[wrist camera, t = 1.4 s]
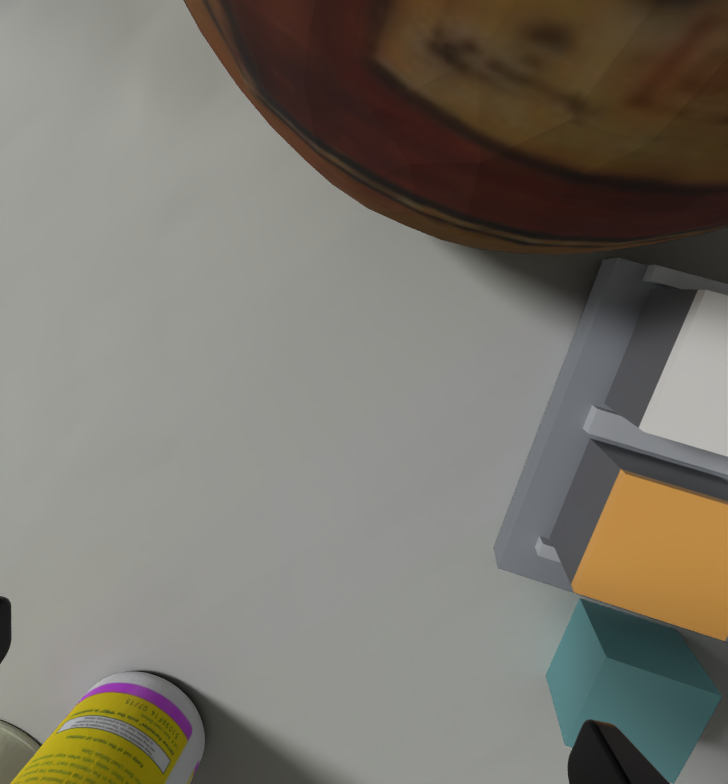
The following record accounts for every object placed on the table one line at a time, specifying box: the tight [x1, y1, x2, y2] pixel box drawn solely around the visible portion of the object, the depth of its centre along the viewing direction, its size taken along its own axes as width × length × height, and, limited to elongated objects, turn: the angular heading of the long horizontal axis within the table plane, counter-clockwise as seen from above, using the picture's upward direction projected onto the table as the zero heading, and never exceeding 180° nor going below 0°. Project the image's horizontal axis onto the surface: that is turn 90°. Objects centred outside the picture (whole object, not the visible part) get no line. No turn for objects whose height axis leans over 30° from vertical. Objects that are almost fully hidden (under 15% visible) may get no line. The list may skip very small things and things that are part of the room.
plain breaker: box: [604, 289, 728, 457], centre depth 15 cm, size 4×4×3 cm
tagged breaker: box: [550, 438, 728, 641], centre depth 16 cm, size 4×4×3 cm
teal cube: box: [546, 599, 722, 783], centre depth 19 cm, size 4×4×4 cm
